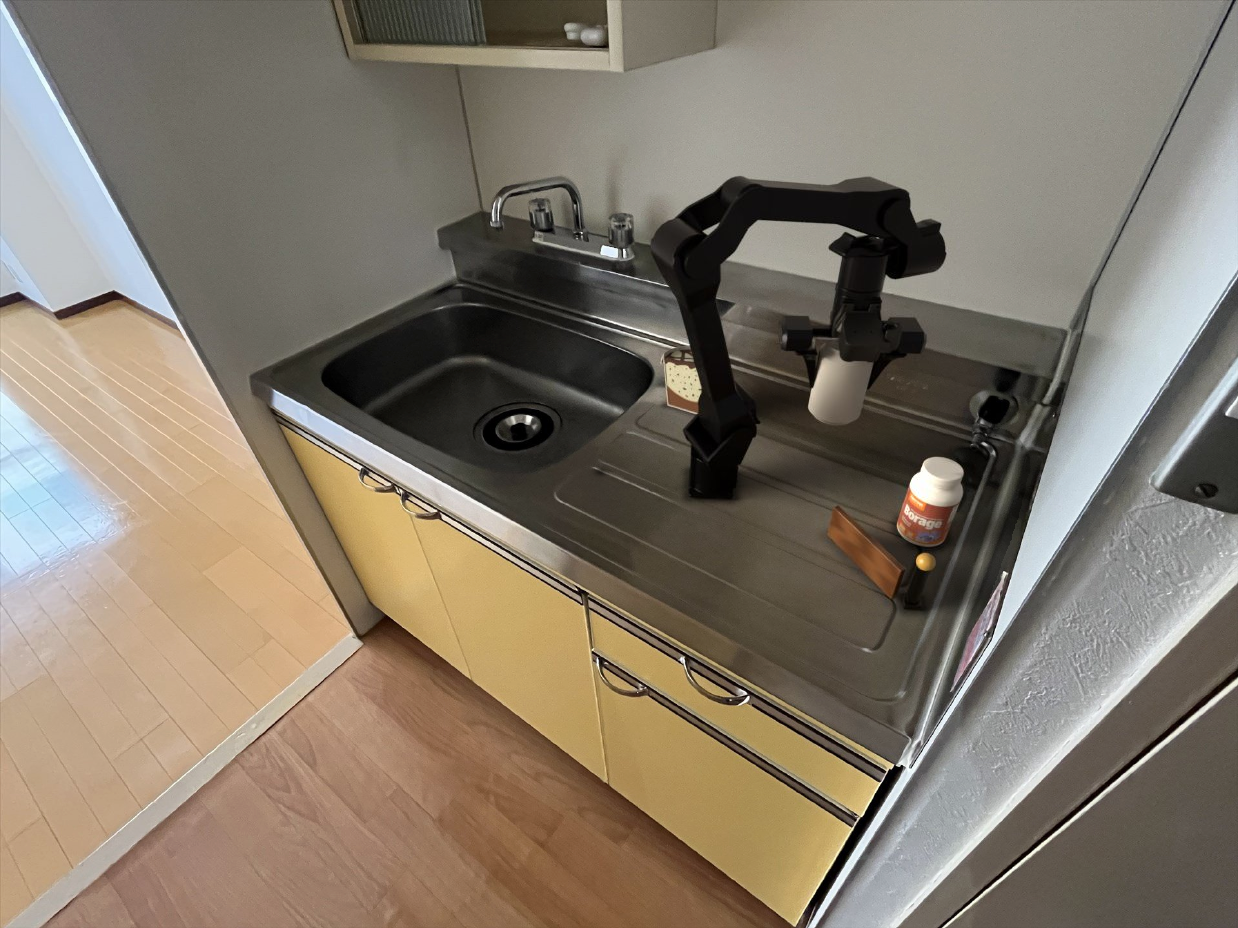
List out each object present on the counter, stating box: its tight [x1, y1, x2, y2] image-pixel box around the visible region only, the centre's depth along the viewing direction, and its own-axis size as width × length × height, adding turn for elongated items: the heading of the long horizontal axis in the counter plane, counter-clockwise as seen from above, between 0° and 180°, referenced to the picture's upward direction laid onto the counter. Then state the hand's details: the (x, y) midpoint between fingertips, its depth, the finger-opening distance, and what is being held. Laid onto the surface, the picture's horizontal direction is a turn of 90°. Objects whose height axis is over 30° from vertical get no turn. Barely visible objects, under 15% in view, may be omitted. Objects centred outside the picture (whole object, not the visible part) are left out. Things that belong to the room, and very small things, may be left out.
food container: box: [660, 345, 701, 415], centre depth 110 cm, size 12×6×10 cm, turn 58°
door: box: [827, 505, 907, 600], centre depth 80 cm, size 12×2×5 cm, turn 23°
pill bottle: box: [896, 456, 965, 548], centre depth 83 cm, size 6×6×11 cm
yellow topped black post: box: [899, 552, 937, 611], centre depth 74 cm, size 2×2×8 cm
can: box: [807, 340, 874, 426], centre depth 92 cm, size 8×8×12 cm
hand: (838, 387), depth 93 cm, fingers closed on can, 7 cm apart
